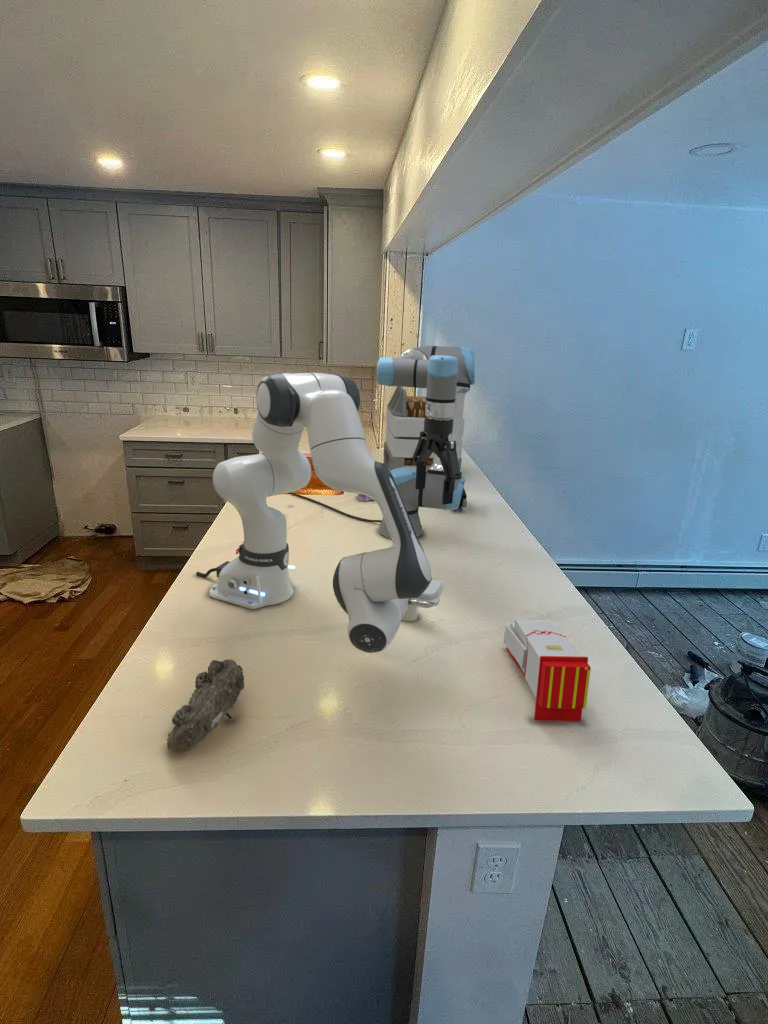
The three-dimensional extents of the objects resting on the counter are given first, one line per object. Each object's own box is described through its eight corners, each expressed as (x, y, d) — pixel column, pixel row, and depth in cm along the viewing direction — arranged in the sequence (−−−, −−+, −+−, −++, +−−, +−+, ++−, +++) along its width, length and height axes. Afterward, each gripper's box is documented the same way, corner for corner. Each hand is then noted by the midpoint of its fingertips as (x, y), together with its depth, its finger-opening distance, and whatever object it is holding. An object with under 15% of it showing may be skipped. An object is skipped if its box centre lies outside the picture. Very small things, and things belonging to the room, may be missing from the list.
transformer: (382, 463, 289) (386, 382, 275) (445, 464, 293) (451, 384, 279) (390, 482, 257) (394, 392, 243) (460, 483, 261) (468, 394, 247)
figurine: (362, 503, 229) (363, 467, 224) (351, 495, 238) (352, 460, 232) (383, 500, 233) (384, 465, 228) (372, 493, 242) (373, 459, 237)
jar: (420, 613, 148) (424, 555, 142) (413, 623, 144) (417, 563, 138) (402, 609, 150) (405, 552, 144) (395, 618, 145) (398, 559, 140)
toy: (549, 604, 136) (599, 663, 106) (544, 656, 138) (591, 727, 109) (499, 603, 135) (535, 662, 106) (495, 655, 138) (529, 726, 109)
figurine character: (467, 516, 223) (461, 500, 237) (469, 499, 220) (463, 483, 233) (450, 516, 223) (446, 499, 236) (452, 498, 220) (447, 483, 233)
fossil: (192, 660, 117) (244, 628, 112) (224, 691, 120) (276, 661, 115) (142, 746, 98) (202, 712, 93) (182, 779, 101) (242, 748, 96)
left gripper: (438, 593, 114) (447, 565, 127) (341, 578, 118) (360, 552, 131) (435, 621, 116) (445, 590, 129) (340, 604, 121) (359, 576, 133)
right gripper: (402, 410, 155) (398, 484, 162) (454, 427, 134) (447, 512, 141) (426, 408, 158) (421, 481, 165) (480, 426, 137) (471, 508, 145)
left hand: (401, 571), depth 130 cm, fingers open, 8 cm apart
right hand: (433, 495), depth 153 cm, fingers open, 13 cm apart
